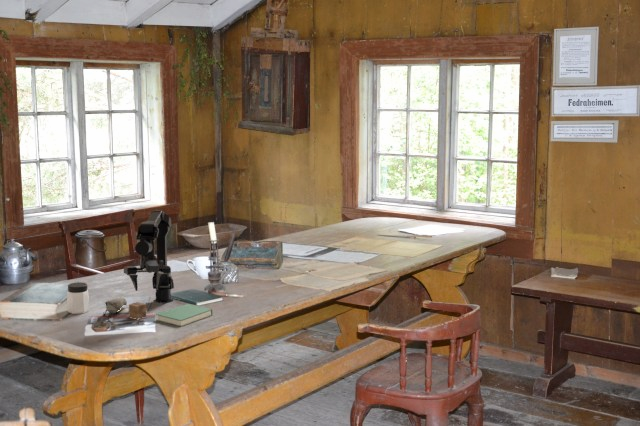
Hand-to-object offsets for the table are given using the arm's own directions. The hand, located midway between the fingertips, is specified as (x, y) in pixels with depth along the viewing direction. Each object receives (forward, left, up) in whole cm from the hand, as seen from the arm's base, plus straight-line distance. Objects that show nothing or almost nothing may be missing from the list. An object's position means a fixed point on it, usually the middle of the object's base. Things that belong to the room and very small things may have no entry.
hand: (147, 290), depth 345 cm
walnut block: (-1, -7, -14) cm, 16 cm away
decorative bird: (0, -19, -14) cm, 24 cm away
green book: (-13, +9, -14) cm, 21 cm away
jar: (+8, -34, -14) cm, 38 cm away
